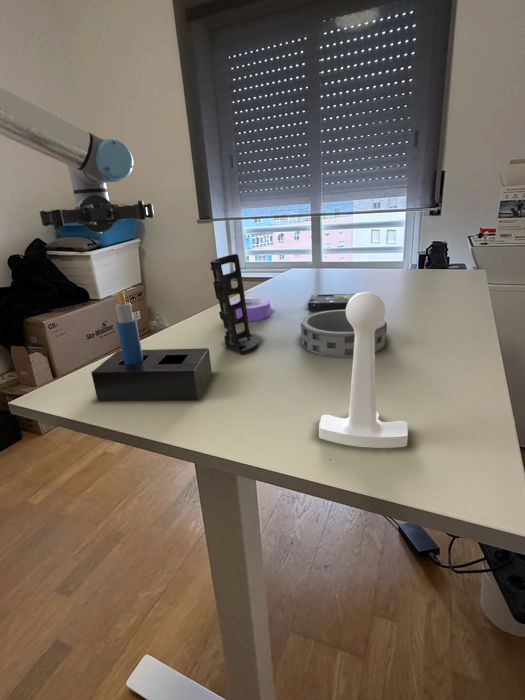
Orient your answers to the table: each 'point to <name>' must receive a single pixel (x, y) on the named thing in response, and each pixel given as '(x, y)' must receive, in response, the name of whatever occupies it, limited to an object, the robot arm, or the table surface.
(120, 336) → the soldering iron
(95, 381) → the two-slot black box
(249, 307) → the tape roll
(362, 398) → the joystick
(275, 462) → the table surface
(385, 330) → the ring
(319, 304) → the disk drive
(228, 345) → the holder
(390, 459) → the table surface
